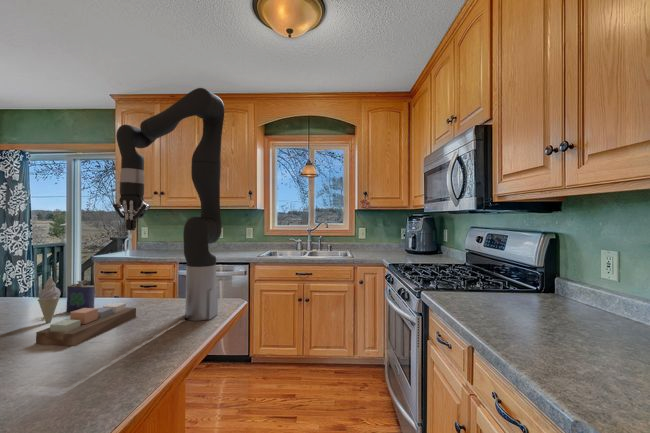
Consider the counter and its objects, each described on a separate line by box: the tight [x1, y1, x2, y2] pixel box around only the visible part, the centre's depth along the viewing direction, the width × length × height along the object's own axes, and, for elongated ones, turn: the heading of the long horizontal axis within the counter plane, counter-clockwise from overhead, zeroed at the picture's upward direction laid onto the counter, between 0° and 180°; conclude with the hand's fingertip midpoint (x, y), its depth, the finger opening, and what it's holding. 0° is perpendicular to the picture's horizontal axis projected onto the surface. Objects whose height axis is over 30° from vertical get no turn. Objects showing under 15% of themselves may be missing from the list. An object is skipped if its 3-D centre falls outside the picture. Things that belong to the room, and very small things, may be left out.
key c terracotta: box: [69, 307, 99, 324], centre depth 84 cm, size 4×4×3 cm
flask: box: [65, 280, 96, 313], centre depth 106 cm, size 9×3×11 cm, turn 88°
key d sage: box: [49, 318, 81, 333], centre depth 79 cm, size 4×4×3 cm
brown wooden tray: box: [34, 306, 139, 348], centre depth 87 cm, size 11×23×4 cm, turn 175°
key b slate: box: [98, 307, 113, 318], centre depth 90 cm, size 4×4×3 cm
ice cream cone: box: [37, 275, 61, 324], centre depth 92 cm, size 5×5×15 cm
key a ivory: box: [102, 302, 127, 313], centre depth 95 cm, size 4×4×3 cm
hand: (130, 230), depth 111 cm, fingers closed
